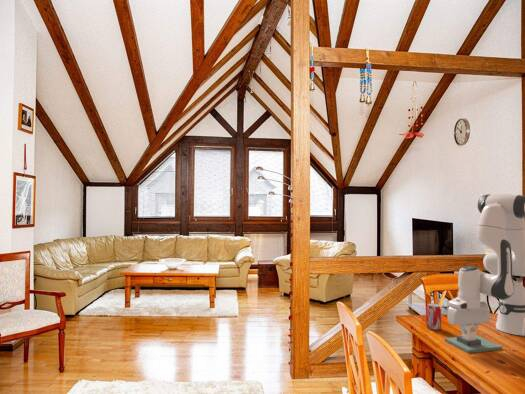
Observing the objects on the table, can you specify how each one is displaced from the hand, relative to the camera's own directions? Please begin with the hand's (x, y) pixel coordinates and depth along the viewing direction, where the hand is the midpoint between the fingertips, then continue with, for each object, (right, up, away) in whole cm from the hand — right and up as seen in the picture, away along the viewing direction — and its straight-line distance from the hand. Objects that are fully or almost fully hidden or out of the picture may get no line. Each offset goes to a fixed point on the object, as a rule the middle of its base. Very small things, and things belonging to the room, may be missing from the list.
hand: (469, 333), depth 166 cm
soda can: (-6, -6, +22) cm, 24 cm away
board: (+2, -6, +1) cm, 6 cm away
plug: (0, -4, 0) cm, 4 cm away
